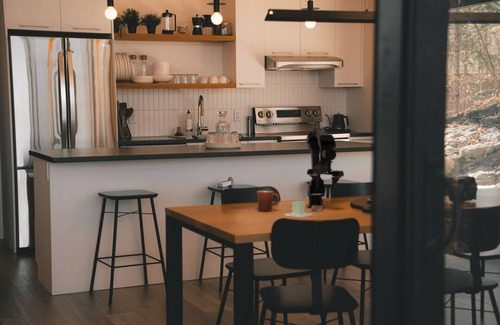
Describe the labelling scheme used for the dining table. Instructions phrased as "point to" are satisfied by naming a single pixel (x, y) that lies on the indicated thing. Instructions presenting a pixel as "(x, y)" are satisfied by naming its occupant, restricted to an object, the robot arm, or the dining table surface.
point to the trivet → (298, 214)
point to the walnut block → (317, 208)
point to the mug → (266, 200)
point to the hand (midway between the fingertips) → (324, 189)
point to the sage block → (298, 207)
